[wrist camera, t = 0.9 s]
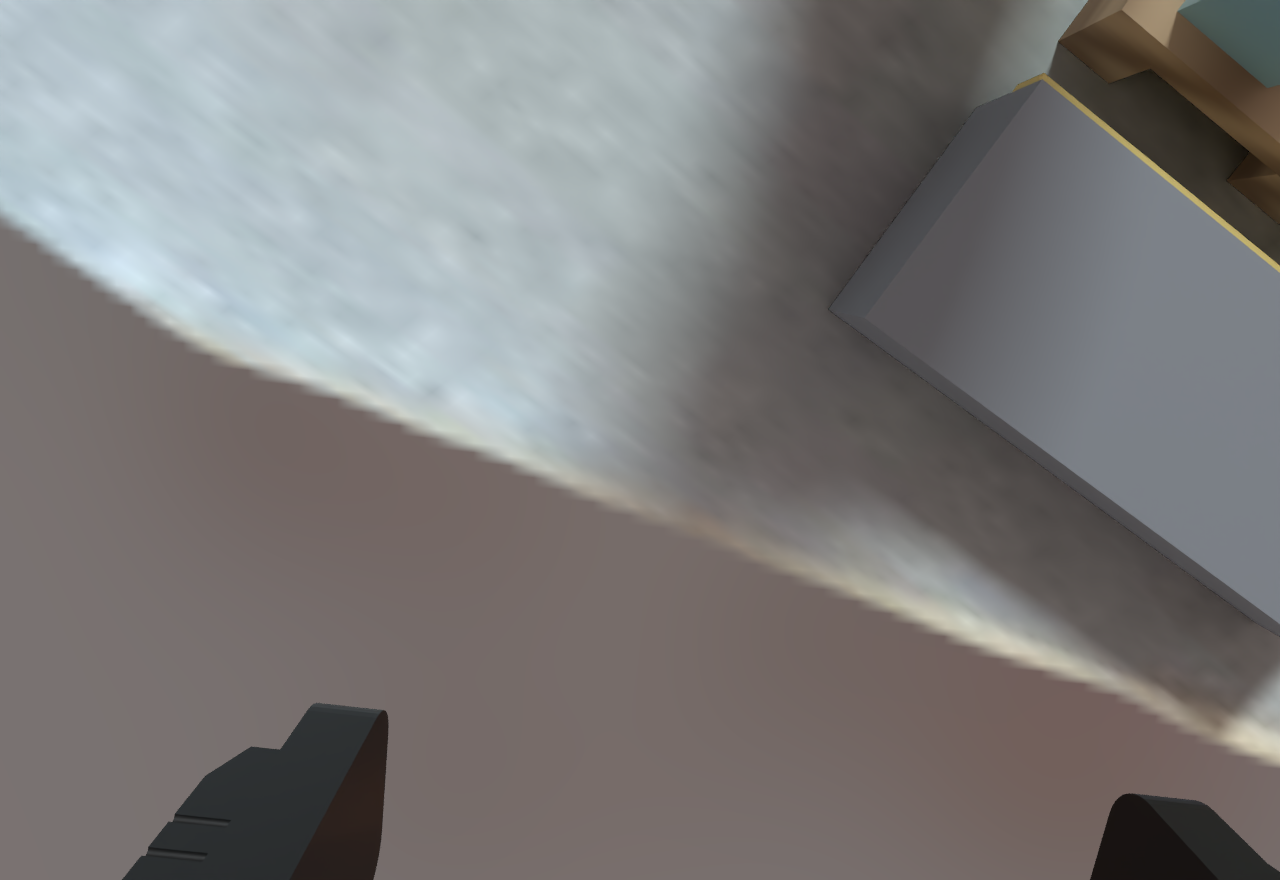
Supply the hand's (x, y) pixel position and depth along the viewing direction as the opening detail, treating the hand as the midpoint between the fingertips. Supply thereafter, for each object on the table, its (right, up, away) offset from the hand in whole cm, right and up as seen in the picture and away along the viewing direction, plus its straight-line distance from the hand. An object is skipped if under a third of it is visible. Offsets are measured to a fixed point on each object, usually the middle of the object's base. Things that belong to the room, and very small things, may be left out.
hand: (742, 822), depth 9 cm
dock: (+18, +6, +24) cm, 31 cm away
